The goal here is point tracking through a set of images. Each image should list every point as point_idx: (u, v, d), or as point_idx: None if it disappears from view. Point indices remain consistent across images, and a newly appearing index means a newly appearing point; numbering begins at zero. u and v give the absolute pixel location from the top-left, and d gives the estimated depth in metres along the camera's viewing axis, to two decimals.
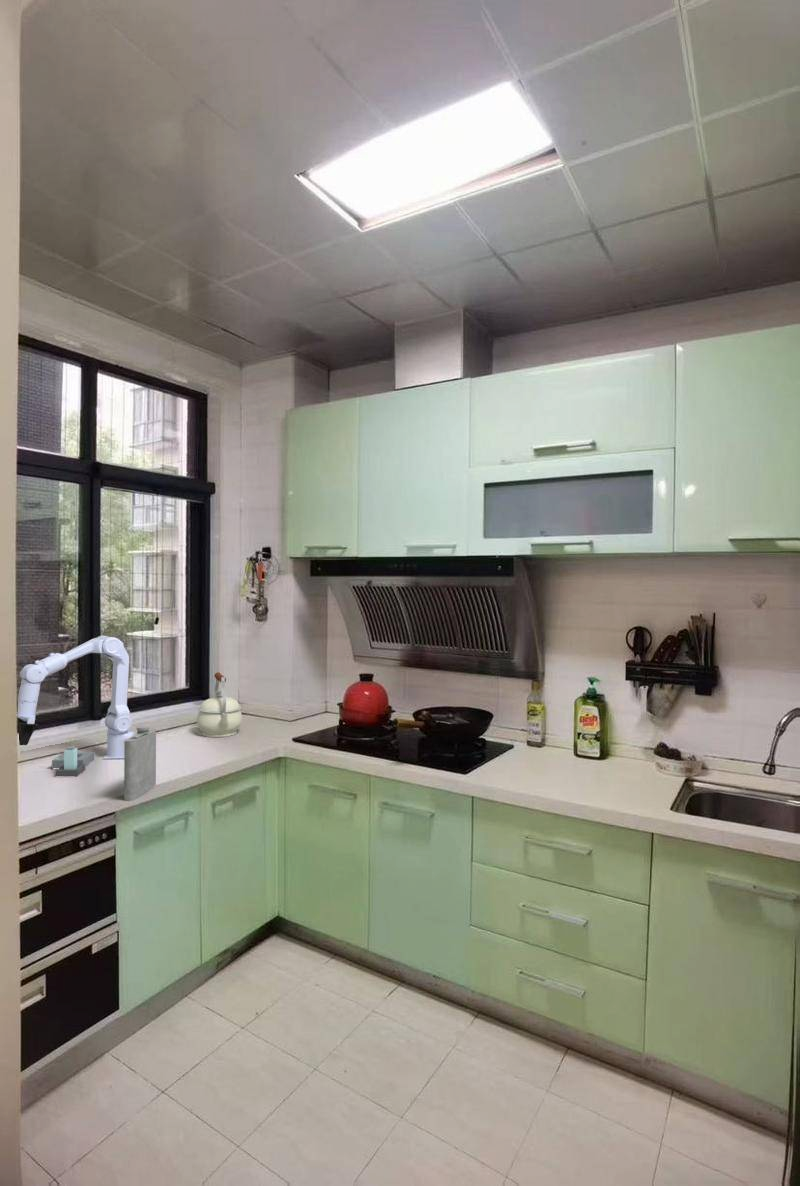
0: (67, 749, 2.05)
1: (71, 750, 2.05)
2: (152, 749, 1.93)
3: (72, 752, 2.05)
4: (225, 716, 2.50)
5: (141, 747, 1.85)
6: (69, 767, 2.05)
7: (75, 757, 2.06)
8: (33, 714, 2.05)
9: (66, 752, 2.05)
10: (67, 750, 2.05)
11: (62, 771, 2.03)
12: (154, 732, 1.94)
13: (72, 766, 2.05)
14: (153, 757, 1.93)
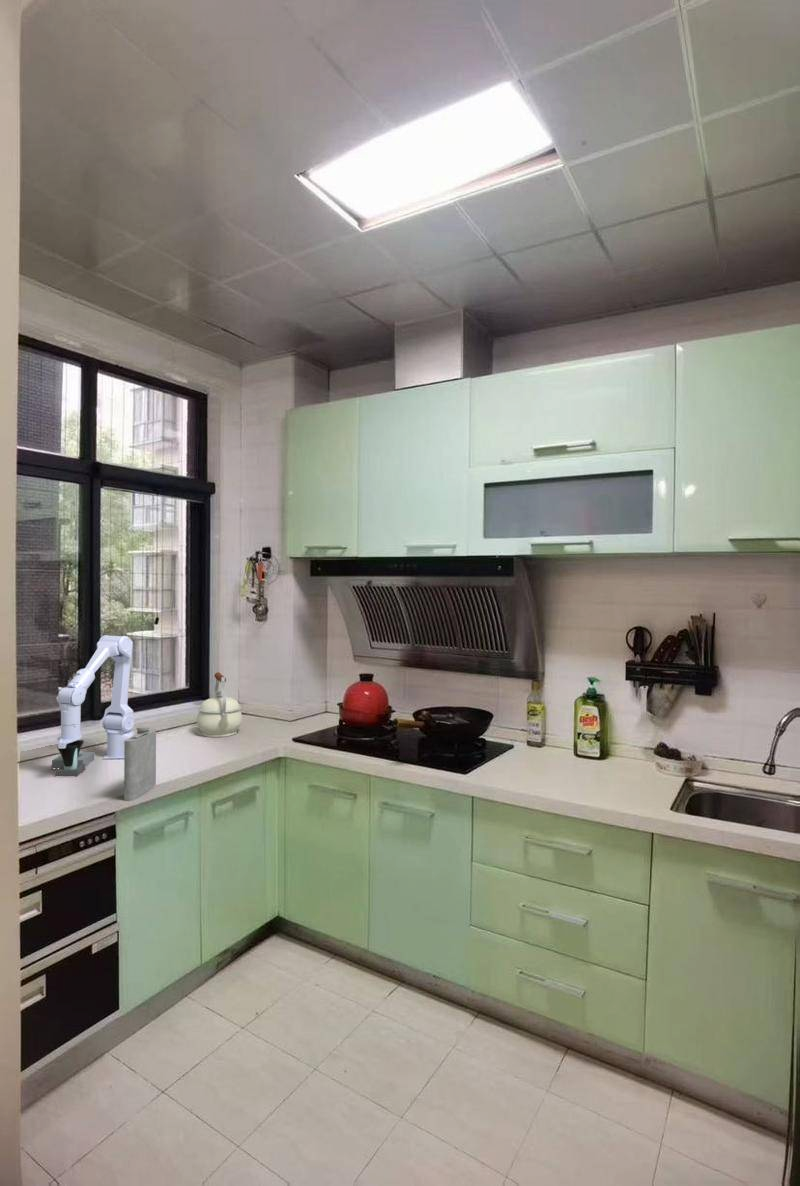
0: None
1: None
2: (152, 749, 1.93)
3: None
4: (225, 716, 2.50)
5: (141, 747, 1.85)
6: (69, 767, 2.05)
7: (75, 757, 2.06)
8: (74, 737, 2.04)
9: None
10: None
11: (62, 771, 2.03)
12: (154, 732, 1.94)
13: (72, 766, 2.05)
14: (153, 757, 1.93)
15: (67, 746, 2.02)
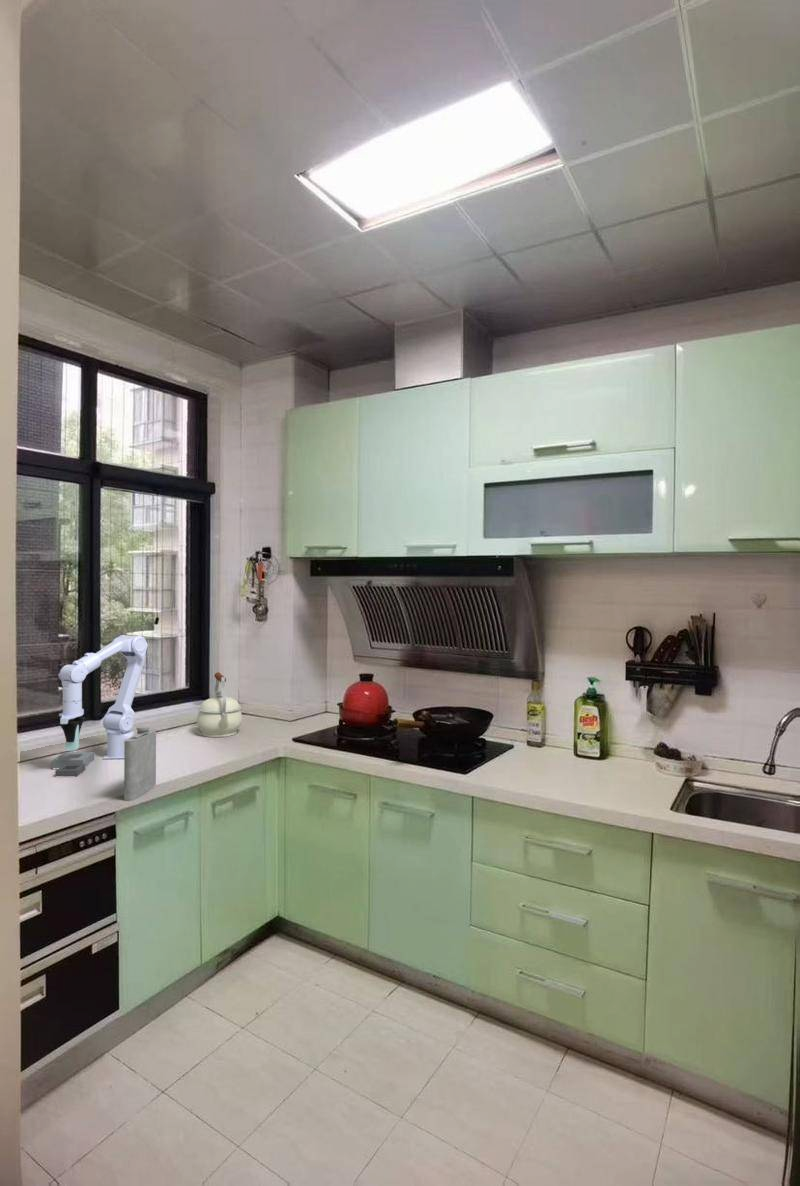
0: None
1: None
2: (152, 749, 1.93)
3: None
4: (225, 716, 2.50)
5: (141, 747, 1.86)
6: (71, 743, 2.09)
7: (77, 733, 2.11)
8: (75, 713, 2.08)
9: None
10: None
11: (62, 771, 2.03)
12: (154, 732, 1.94)
13: (74, 742, 2.09)
14: (153, 757, 1.93)
15: (69, 722, 2.06)
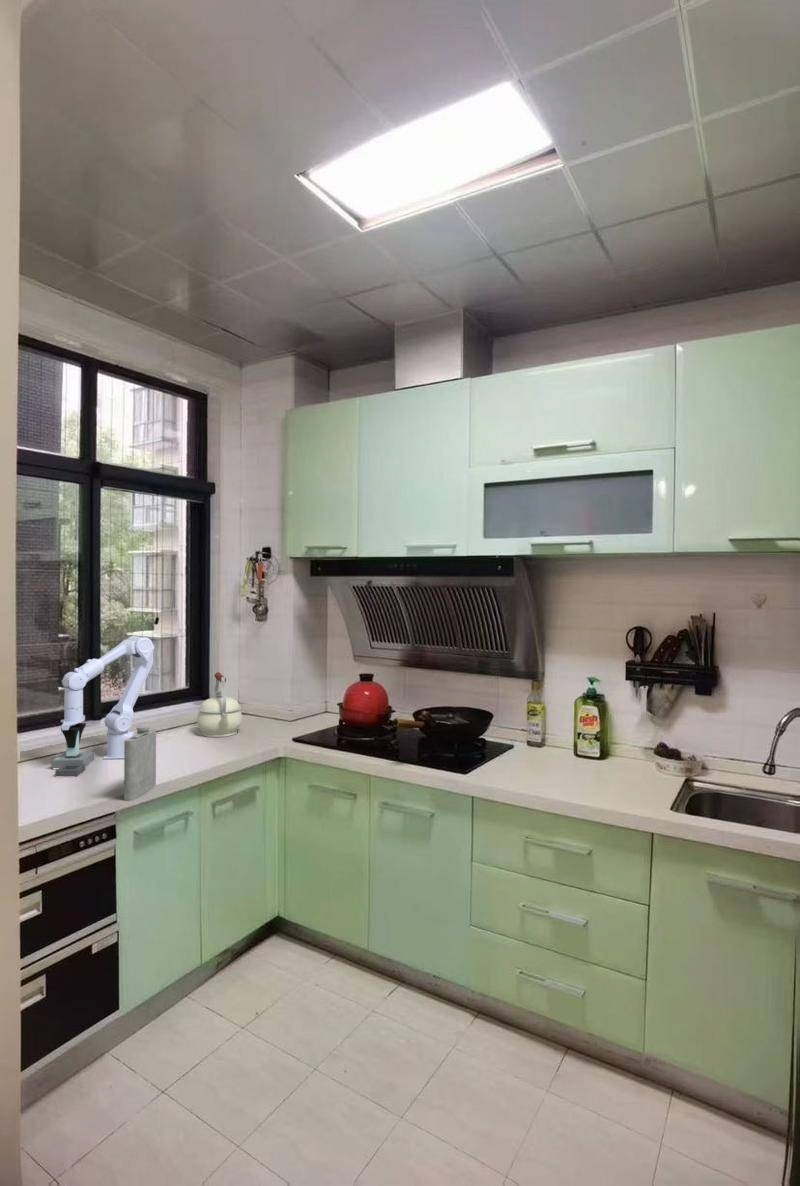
0: None
1: None
2: (152, 749, 1.93)
3: None
4: (225, 716, 2.50)
5: (141, 747, 1.86)
6: (71, 749, 2.14)
7: (77, 739, 2.16)
8: (76, 720, 2.14)
9: None
10: None
11: (62, 771, 2.03)
12: (154, 732, 1.94)
13: (74, 748, 2.14)
14: (153, 757, 1.93)
15: (70, 728, 2.12)
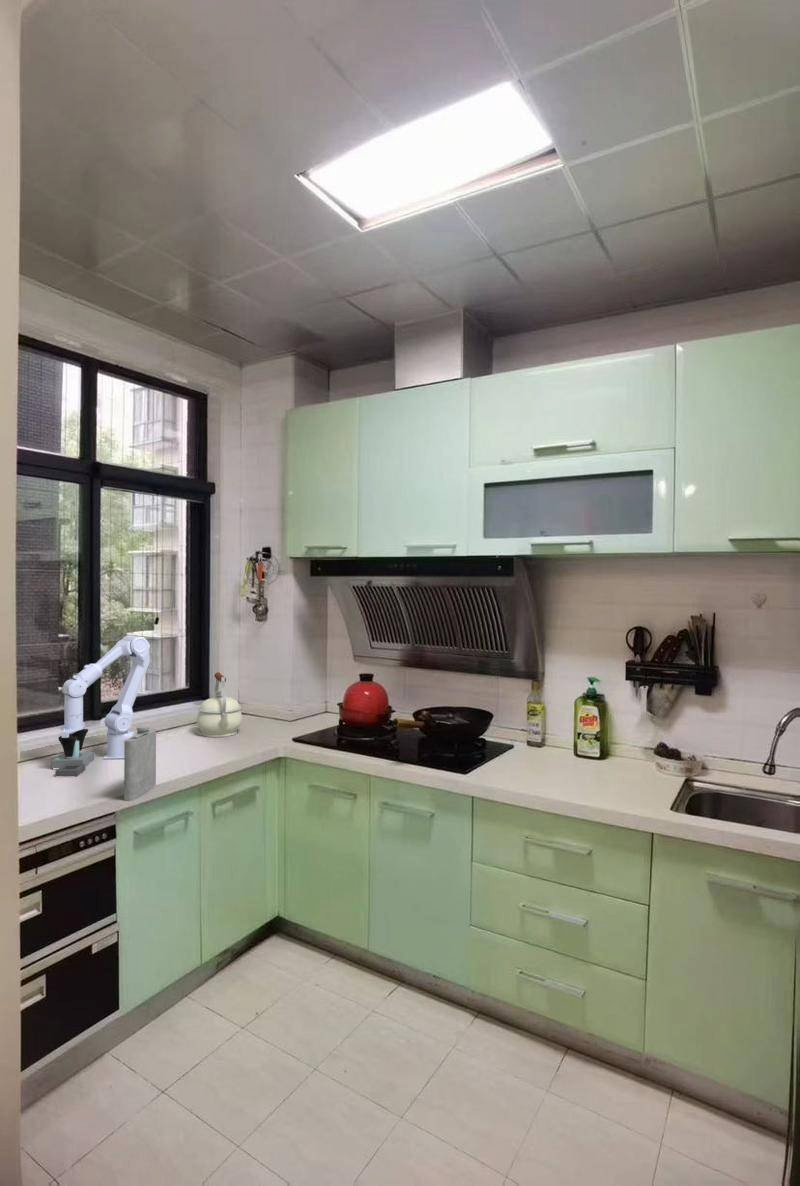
0: None
1: None
2: (152, 749, 1.93)
3: None
4: (225, 716, 2.50)
5: (141, 747, 1.85)
6: None
7: (77, 749, 2.16)
8: (76, 727, 2.14)
9: None
10: None
11: (62, 771, 2.03)
12: (154, 732, 1.94)
13: None
14: (153, 757, 1.93)
15: (68, 737, 2.10)
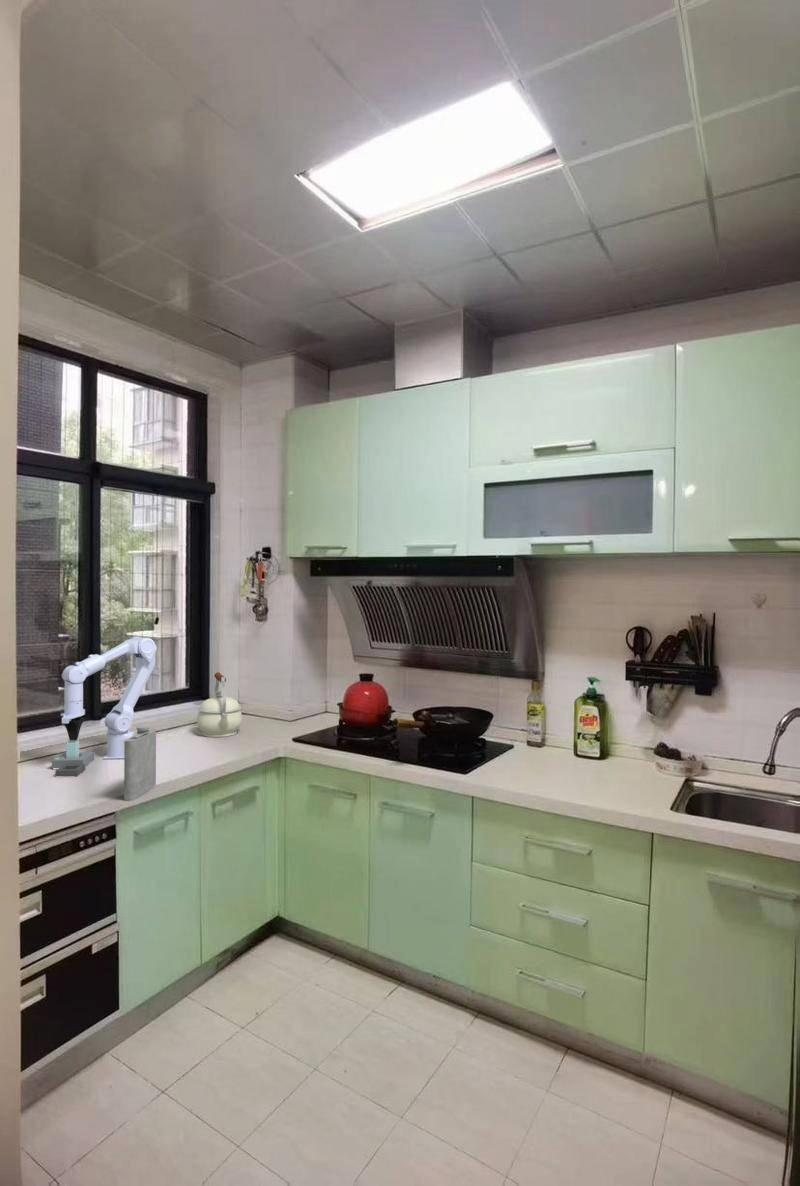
0: (69, 741, 2.15)
1: (73, 742, 2.15)
2: (152, 749, 1.93)
3: (74, 744, 2.14)
4: (225, 716, 2.50)
5: (141, 747, 1.85)
6: None
7: (77, 749, 2.16)
8: (76, 713, 2.14)
9: (68, 744, 2.14)
10: (69, 742, 2.15)
11: (62, 771, 2.03)
12: (154, 732, 1.94)
13: None
14: (153, 757, 1.93)
15: (72, 721, 2.13)
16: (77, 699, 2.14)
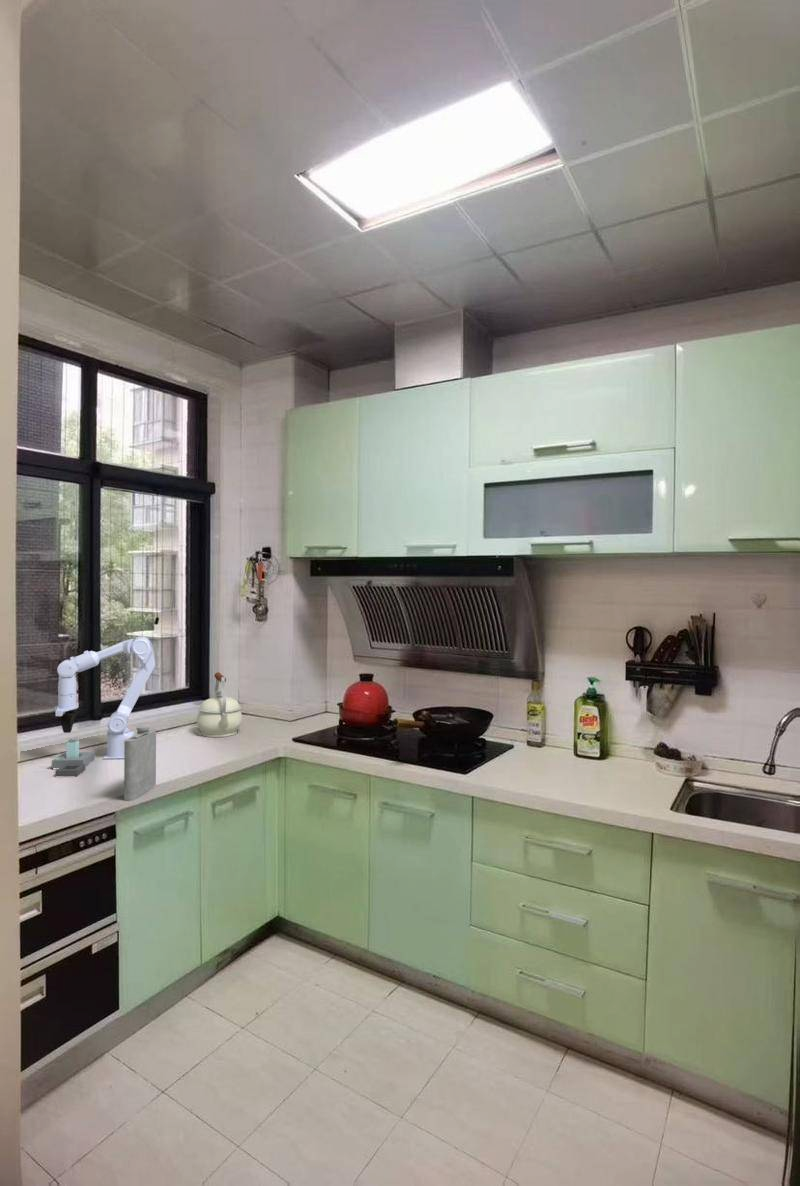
0: (69, 741, 2.15)
1: (73, 742, 2.15)
2: (152, 749, 1.93)
3: (74, 744, 2.14)
4: (225, 716, 2.50)
5: (141, 747, 1.85)
6: None
7: (77, 749, 2.16)
8: (70, 706, 2.19)
9: (68, 744, 2.14)
10: (69, 742, 2.15)
11: (62, 771, 2.03)
12: (154, 732, 1.94)
13: None
14: (153, 757, 1.93)
15: (66, 713, 2.19)
16: (66, 693, 2.18)
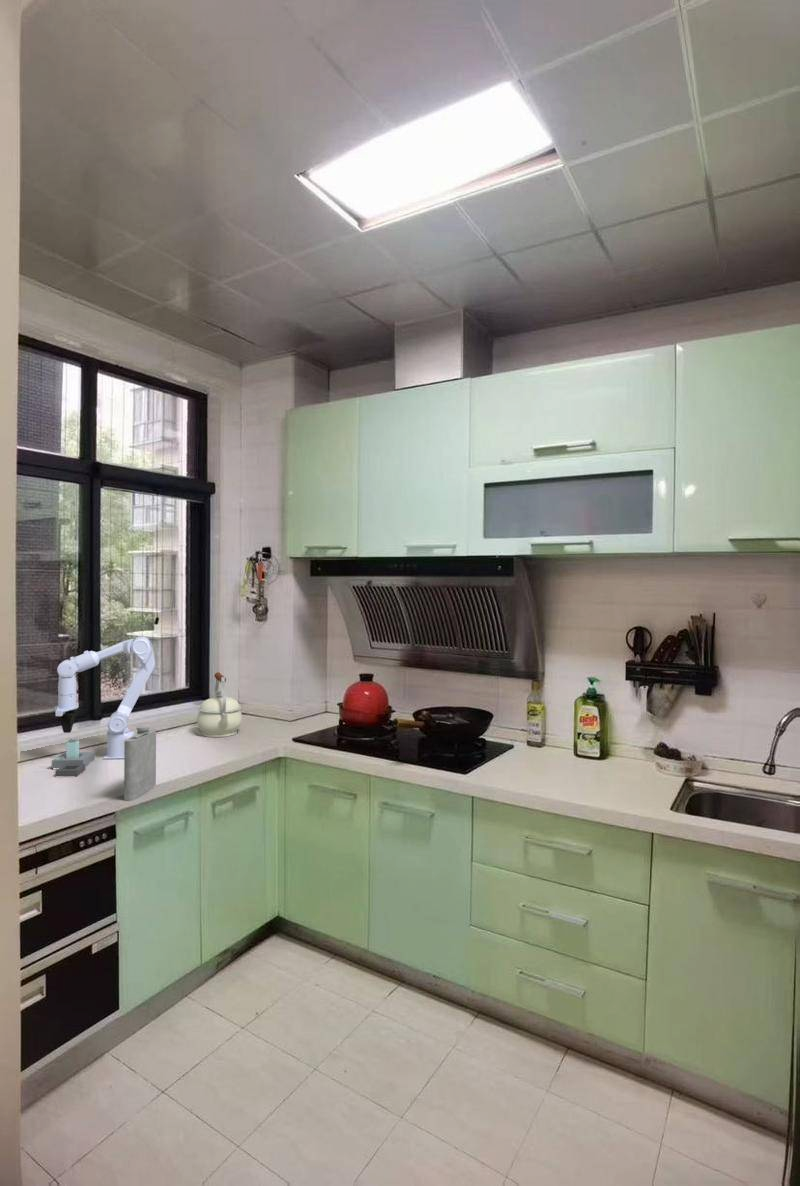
0: (69, 741, 2.15)
1: (73, 742, 2.15)
2: (152, 749, 1.93)
3: (74, 744, 2.14)
4: (225, 716, 2.50)
5: (141, 747, 1.85)
6: None
7: (77, 749, 2.16)
8: (70, 706, 2.19)
9: (68, 744, 2.14)
10: (69, 742, 2.15)
11: (62, 771, 2.03)
12: (154, 732, 1.94)
13: None
14: (153, 757, 1.93)
15: (66, 713, 2.19)
16: (66, 693, 2.18)
